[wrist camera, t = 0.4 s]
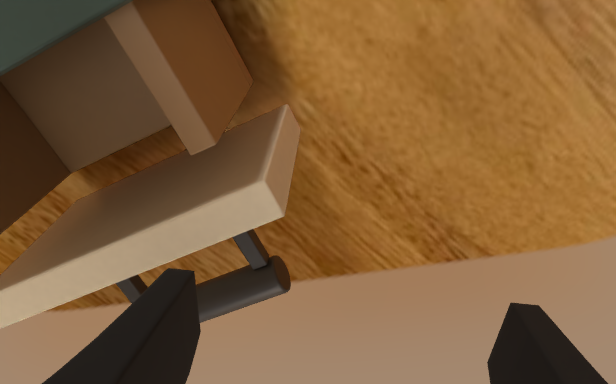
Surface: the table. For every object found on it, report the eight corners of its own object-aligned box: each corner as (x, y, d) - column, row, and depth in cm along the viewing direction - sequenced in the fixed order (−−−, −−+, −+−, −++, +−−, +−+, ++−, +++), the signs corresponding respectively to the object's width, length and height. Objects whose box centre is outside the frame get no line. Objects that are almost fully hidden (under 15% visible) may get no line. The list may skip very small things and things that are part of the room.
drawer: (344, 214, 20) (348, 326, 14) (146, 289, 23) (78, 413, 17) (112, -243, 14) (-64, -392, 8) (-131, -65, 16) (-407, -73, 10)
